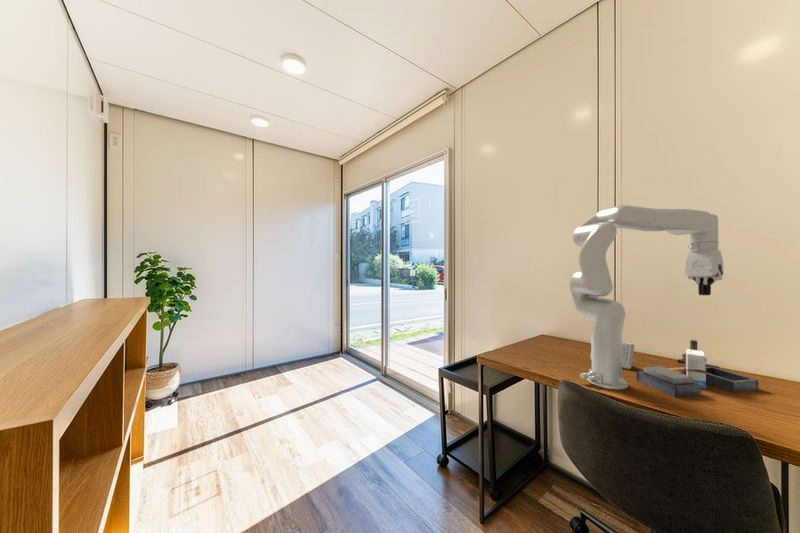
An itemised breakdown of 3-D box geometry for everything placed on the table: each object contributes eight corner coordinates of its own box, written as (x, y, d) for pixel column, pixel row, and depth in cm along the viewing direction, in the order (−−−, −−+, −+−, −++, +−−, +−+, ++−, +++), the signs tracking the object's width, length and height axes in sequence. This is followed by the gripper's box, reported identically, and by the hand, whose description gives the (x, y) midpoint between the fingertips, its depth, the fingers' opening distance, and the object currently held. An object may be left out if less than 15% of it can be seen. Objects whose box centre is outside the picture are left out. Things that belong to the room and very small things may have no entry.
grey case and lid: (674, 397, 100) (674, 380, 99) (636, 380, 113) (636, 366, 113) (758, 390, 104) (758, 374, 103) (711, 375, 117) (711, 361, 117)
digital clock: (587, 360, 139) (587, 337, 138) (601, 357, 142) (601, 335, 142) (624, 371, 123) (624, 346, 123) (639, 368, 126) (638, 343, 126)
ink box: (706, 389, 105) (706, 356, 105) (686, 385, 108) (686, 353, 108) (704, 382, 111) (704, 350, 111) (686, 378, 115) (685, 348, 114)
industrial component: (682, 369, 124) (682, 341, 124) (679, 364, 130) (679, 337, 130) (715, 374, 118) (714, 344, 118) (710, 369, 124) (709, 340, 124)
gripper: (675, 248, 121) (675, 293, 121) (718, 246, 106) (719, 297, 107) (691, 248, 122) (691, 292, 122) (736, 245, 107) (737, 296, 108)
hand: (704, 294), depth 114 cm, fingers closed
